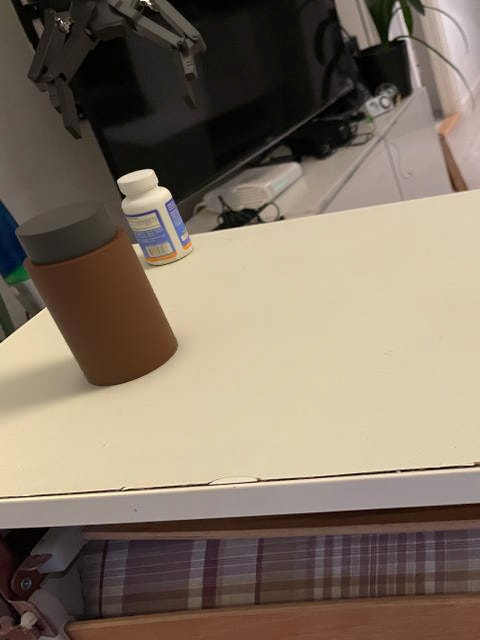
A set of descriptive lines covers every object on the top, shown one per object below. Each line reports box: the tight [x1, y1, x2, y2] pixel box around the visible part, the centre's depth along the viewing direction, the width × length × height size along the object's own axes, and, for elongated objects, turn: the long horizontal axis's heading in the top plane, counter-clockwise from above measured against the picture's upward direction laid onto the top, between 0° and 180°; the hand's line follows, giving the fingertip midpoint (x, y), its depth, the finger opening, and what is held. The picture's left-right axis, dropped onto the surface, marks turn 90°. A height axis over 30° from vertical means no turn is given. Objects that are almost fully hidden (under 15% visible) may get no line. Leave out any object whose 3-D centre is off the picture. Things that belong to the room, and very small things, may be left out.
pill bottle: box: [116, 168, 194, 266], centre depth 87 cm, size 5×5×10 cm
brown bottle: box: [14, 199, 179, 387], centre depth 64 cm, size 8×8×14 cm
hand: (132, 117), depth 90 cm, fingers open, 13 cm apart
